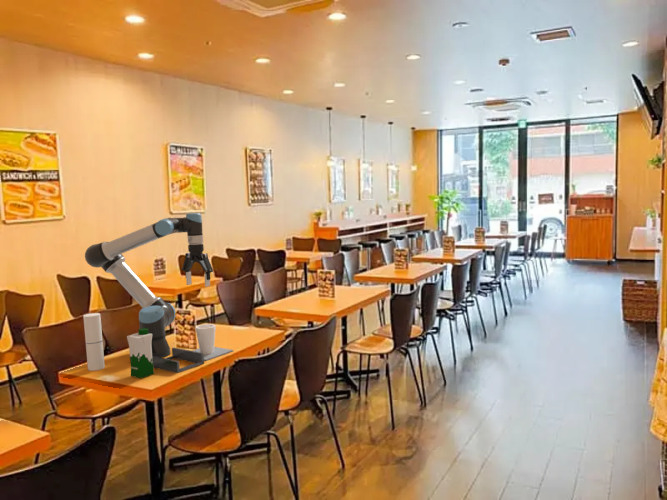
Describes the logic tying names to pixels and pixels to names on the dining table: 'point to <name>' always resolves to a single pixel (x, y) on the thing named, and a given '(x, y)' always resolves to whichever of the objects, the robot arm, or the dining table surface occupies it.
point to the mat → (215, 353)
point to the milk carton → (141, 353)
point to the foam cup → (206, 338)
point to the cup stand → (174, 365)
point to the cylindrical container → (94, 341)
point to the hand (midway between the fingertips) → (198, 285)
